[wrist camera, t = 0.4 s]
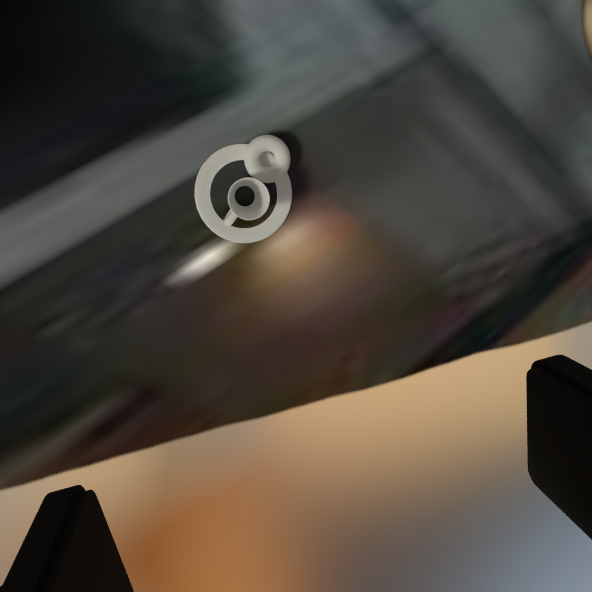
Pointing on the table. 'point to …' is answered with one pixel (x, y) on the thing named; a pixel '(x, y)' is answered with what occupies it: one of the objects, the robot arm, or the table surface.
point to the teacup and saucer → (262, 170)
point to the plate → (587, 24)
